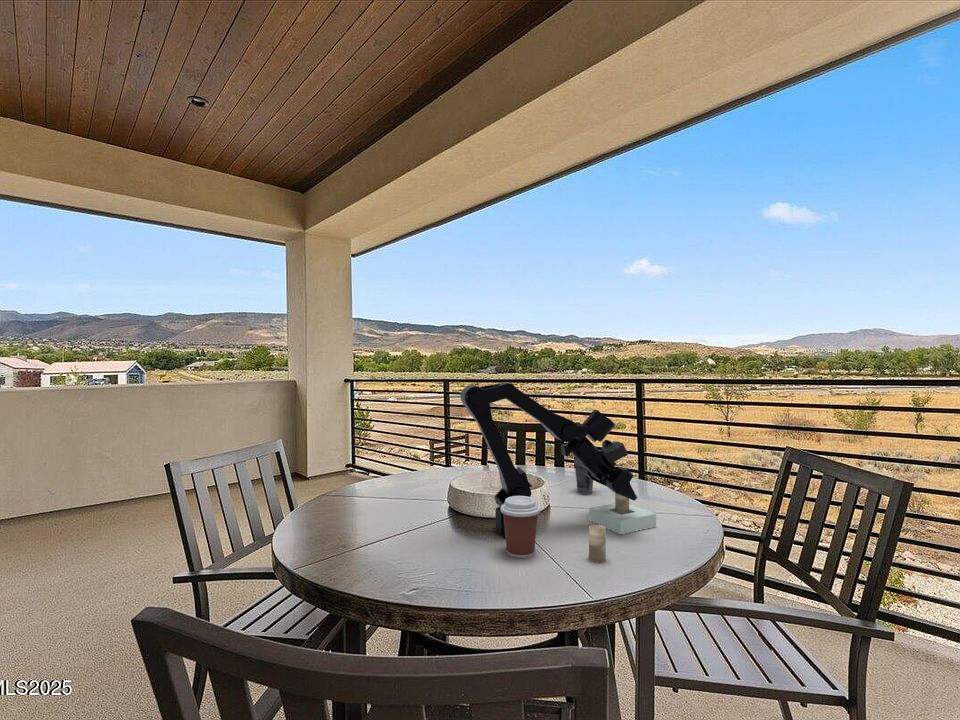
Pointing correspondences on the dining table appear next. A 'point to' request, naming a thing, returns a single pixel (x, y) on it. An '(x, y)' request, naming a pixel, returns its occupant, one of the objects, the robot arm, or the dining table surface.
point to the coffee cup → (520, 525)
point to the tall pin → (621, 504)
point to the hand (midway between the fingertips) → (626, 494)
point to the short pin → (597, 543)
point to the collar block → (623, 518)
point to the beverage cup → (582, 479)
